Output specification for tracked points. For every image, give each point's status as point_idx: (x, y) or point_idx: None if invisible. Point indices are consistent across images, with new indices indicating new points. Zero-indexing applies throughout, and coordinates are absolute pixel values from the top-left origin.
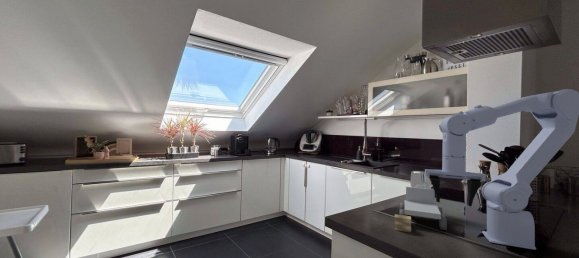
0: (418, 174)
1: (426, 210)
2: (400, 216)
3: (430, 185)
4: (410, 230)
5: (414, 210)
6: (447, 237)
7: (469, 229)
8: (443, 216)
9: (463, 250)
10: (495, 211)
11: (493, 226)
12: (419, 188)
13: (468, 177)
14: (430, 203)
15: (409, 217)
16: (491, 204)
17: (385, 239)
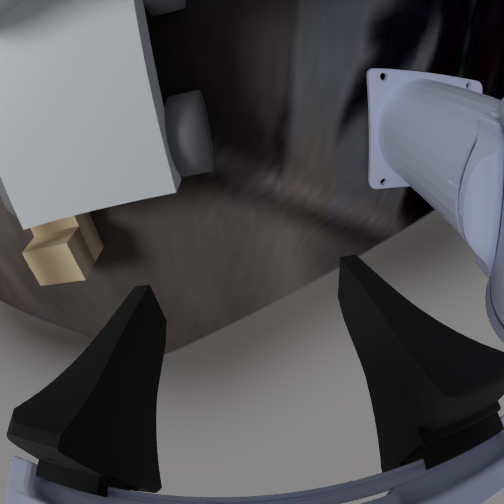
0: None
1: (91, 164)
2: (45, 267)
3: None
4: (100, 251)
5: (53, 214)
6: (221, 216)
7: (318, 43)
8: (189, 160)
9: (269, 294)
10: (459, 233)
11: (413, 185)
12: None
13: (405, 488)
14: None
15: (70, 261)
16: (481, 206)
17: (88, 328)
